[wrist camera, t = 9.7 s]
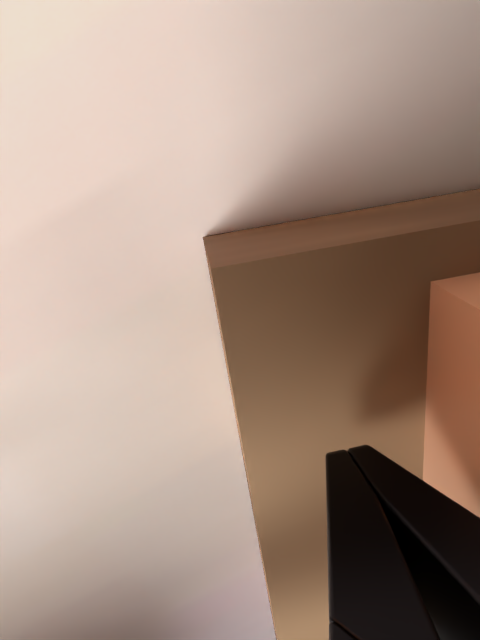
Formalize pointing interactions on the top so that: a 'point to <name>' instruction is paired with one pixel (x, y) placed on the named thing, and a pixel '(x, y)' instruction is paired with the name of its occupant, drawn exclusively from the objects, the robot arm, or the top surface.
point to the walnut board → (329, 365)
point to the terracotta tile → (454, 391)
